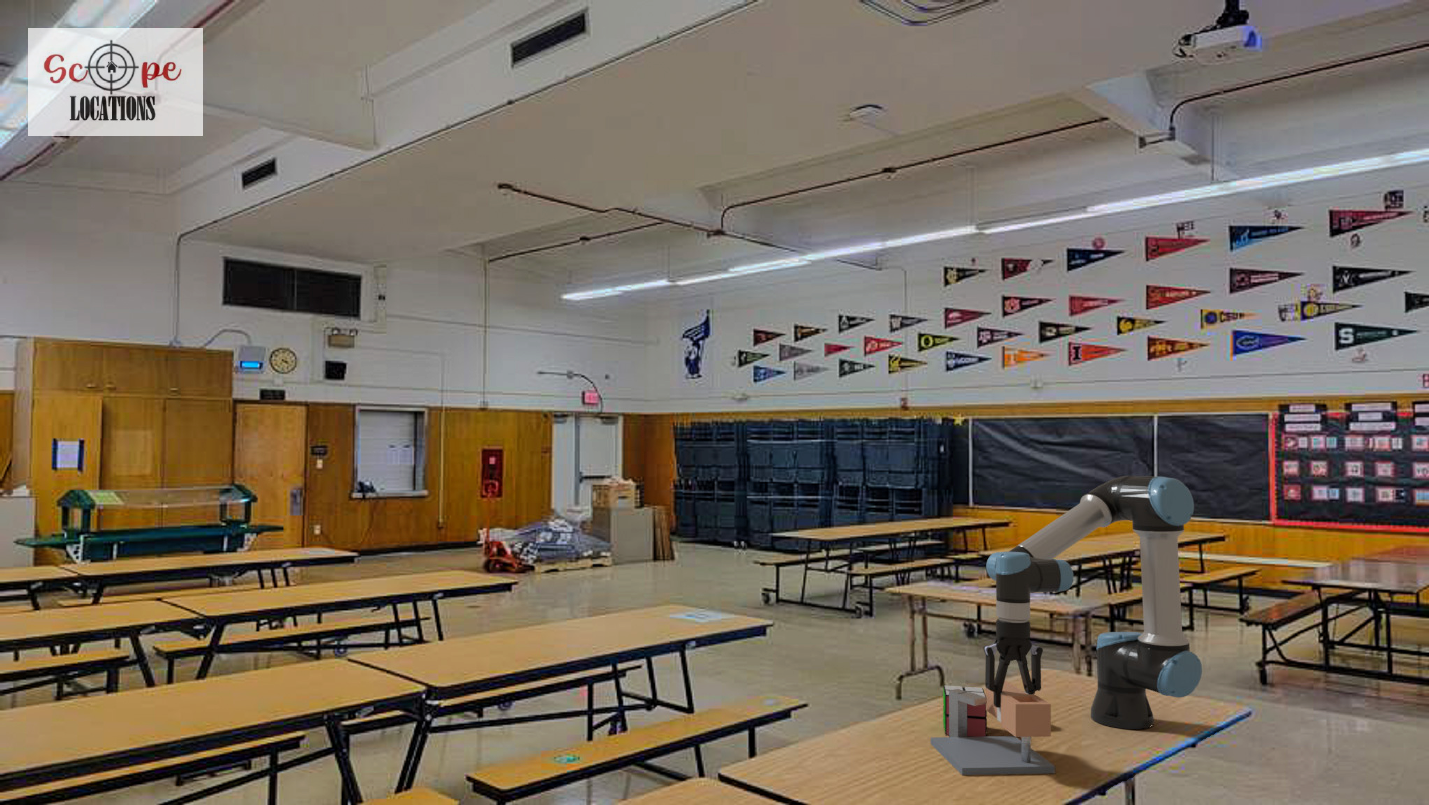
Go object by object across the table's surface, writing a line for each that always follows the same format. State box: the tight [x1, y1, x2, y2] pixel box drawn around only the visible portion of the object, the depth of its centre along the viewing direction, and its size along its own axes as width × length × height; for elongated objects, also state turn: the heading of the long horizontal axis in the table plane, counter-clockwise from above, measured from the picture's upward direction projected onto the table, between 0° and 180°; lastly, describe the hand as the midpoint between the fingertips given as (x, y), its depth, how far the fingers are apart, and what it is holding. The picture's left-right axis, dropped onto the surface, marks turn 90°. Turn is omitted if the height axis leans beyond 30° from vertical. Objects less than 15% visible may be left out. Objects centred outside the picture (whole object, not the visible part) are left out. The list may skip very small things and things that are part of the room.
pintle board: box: [930, 735, 1056, 776], centre depth 207 cm, size 21×21×2 cm
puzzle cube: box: [942, 684, 988, 737], centre depth 227 cm, size 10×10×10 cm
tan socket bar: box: [985, 680, 1052, 738], centre depth 207 cm, size 20×8×7 cm, turn 5°
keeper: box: [948, 689, 987, 737], centre depth 217 cm, size 4×9×12 cm, turn 29°
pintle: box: [1020, 737, 1032, 763], centre depth 201 cm, size 2×2×12 cm
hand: (1013, 721), depth 208 cm, fingers closed on tan socket bar, 5 cm apart
